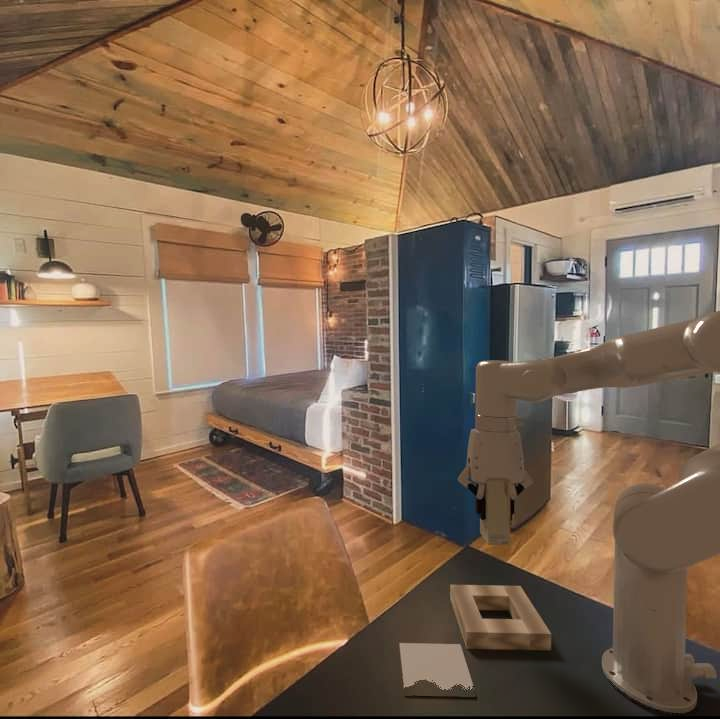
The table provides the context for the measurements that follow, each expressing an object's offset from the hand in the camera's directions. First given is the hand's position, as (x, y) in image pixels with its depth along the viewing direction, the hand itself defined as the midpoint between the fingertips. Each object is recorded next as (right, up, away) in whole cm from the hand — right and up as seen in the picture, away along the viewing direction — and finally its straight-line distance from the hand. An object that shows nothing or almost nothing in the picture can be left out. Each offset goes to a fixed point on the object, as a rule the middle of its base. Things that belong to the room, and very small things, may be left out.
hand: (494, 516), depth 80 cm
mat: (-14, -21, -11) cm, 28 cm away
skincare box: (0, -5, 0) cm, 5 cm away
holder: (+1, -21, +1) cm, 21 cm away
